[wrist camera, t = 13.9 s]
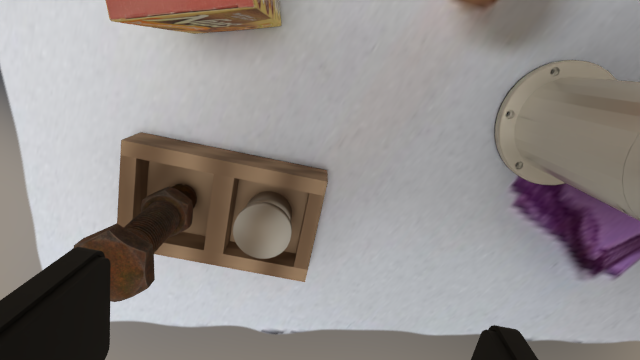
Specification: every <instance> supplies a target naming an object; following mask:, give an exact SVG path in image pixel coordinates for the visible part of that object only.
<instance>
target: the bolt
mask: <svg viewBox="0 0 640 360" xmlns="http://www.w3.org/2000/svg"><path fill="white" fill-rule="evenodd" d="M196 203H197V196H196V192H195V191H194V189H193V188H192V187H190V186H188V185H186V184H185V185H182V184H176V185H175V186H173V187H170V186H169V187H166V188H163V189H161V190H159V191H157V192H155V193H153V194H151V195H149V196H147V197H146V198H144V199H143V200H142V204H141V213H140V214H138V215H137V216H136V217H135V218H134V219H133V220H131V221H130V222H129V223H128V224H127V225H126V226H125V227H122V226H120V225H119V224H115V225H113V226H110V227H108V228H106V229H104V230H101V231H99V232H97V233H95V234H92V235H90V236H88V237H86V238H83V239H82V240H81V241H79V242H78V243H77V244H75V245H74V248H76V247H83V248H88V249H94V250H99V251H102V252H103V253H104V255H105V258H108V259H109V260H110V264H111V270H110V301H113V302H117V301H122V300H125V299H127V298H130V297H133V296H135V295H136V294H138V293H140V292H142V291H144V290H145V289H147V288H148V287H149V286H150V285H151V284H152V282H153V281H154V280H155V279H154V253H155V252H156V251H157V250H158V248H159V247H160V246H161V245H162V244H163V243H164V242H165V241H166V239H167V238H169V237H172V236H174V235H177V234H179V233H181V232H183V231H185V230H187V229H188V228H189V227H190V226H191V224H192V219H193V208H194V207H195V205H196Z"/></svg>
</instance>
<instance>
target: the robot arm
mask: <svg viewBox="0 0 640 360" xmlns="http://www.w3.org/2000/svg"><path fill="white" fill-rule="evenodd" d="M551 70H552V73H551V74H550V72H551ZM507 112H508V115H507V116H506V113H507ZM495 140H496V145H497V149H498V152H499V154H500V157H501V159H502V160H503V161H504V163H505V164H506V166H507V167H508V168H509V169H510V170H512V171H513V172H514V173H515V174H517V175H518V176H520V177H521V178H523V179H525V180H528V181H530V182H532V183H536V184H541V185H560V184H568V185H570V186H572V187H574V188H576V189H578V190H580V191H582V192H584V193H586V194H588V195H590V196H592V197H594V198H596V199H598V200H600V201H602V202H604V203H606V204H607V205H609V206H611V207H613V208H615V209H617V210H619V211H621V212H623V213H625V214H627V215H629V216H631V217H633V218H635V219H637V220H639V221H640V82H633V81H619V80H616V78H615V77H614V76H613V75H612V74H611V73H610V72H609V71H607V70H605V69H604V68H602V67H601V66H599V65H596V64H593V63H590V62H587V61H578V60H564V61H558V62H552V63H549V64H547V65H544V66H541V67H539V68H537V69H535V70H534V71H532V72H530V73H529V74H527V75H526V76H525V77H524V78H522V79H521V80H520V81H519V82H518V83H517V84H516V85H515V86H514V87H513V88H512V89H511V91H510V92H509V93H508V95H507V96H506V98H505V100H504V101H503V103H502V105H501V108H500V110H499V113H498V115H497V120H496V125H495ZM516 163H517V164H516ZM515 164H516V165H515ZM110 270H111V264H110V260H109V259H108V258H105V255H104V253H103V252H102V251H99V250H94V249H88V248H83V247H76V248H74V249H72V250H71V251H69V252H68V253H66V254H65V255H64V256H62V257H61V258H59V259H58V260H57V261H55V262H54V263H52V264H51V265H50V266H48V267H47V268H45V269H44V270H43V271H41V272H40V273H39V274H37V275H35V276H34V277H33V278H31V279H30V280H28V281H27V282H26V283H24V284H23V285H21V286H20V287H19V288H17V289H16V290H14V291H13V292H12V293H10V294H9V295H8V296H6V297H5V298H3V299H2V300H0V360H105V358H106V356H107V353H108V350H109V344H110V343H109V342H110V338H109V337H110ZM471 360H538V359H537V357H536V356H535V354H534V353H533V351H532V350H531V348H530V346H529V345H528V344H527V342H526V340H525V339H524V337H523V336H522V334H521V333H520V332H519V331H518V330H516V329H511V328H506V327H500V326H495V325H494V326H491V327H490V328H489V330H484V331H483V332H482V333H481V335H480V338H479V341H478V343H477V346H476V348H475V351H474V353H473V356H472V359H471Z"/></svg>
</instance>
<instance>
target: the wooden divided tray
mask: <svg viewBox="0 0 640 360" xmlns="http://www.w3.org/2000/svg"><path fill="white" fill-rule="evenodd" d="M327 182H328V179H327V170H323V169H318V168H313V167H308V166H303V165H298V164H293V163H289V162H284V161H279V160H274V159H269V158H264V157H259V156H254V155H249V154H244V153H240V152H235V151H230V150H225V149H220V148H215V147H210V146H205V145H200V144H195V143H191V142H186V141H181V140H176V139H171V138H166V137H161V136H156V135H151V134H146V133H142V132H140V133H138V134H135V135H133V136H130V137H128V138H125V139H123V140H121V158H120V178H119V198H118V218H117V224H119V225H120V226H122V227H125V226H126V225H127V224H128V223H129V222H130V221H131V220H133V219H134V218H135V217H136V216H137V215H138V214H140V213H141V204H142V200H143V199H144V198H146V197H147V196H149V195H151V194H153V193H155V192H157V191H159V190H161V189H163V188H166V187H169V186H170V187H173V186H175V185H176V184H182V185H185V184H186V185H188V186H190V187H192V188H193V189H194V191H195V192H196V196H197V203H196V205H195V207H194V208H193V219H192V224H191V226H190V227H189V228H188V229H187V230H185V231H183V232H181V233H179V234H177V235H174V236H172V237H169V238H167V239H166V241H165V242H164V243H163V244H162V245H161V246H160V247H159V248H158V250H157V251H156V252H155V253H154V254H158V255H163V256H168V257H174V258H179V259H184V260H190V261H195V262H200V263H206V264H211V265H216V266H222V267H227V268H232V269H238V270H243V271H248V272H254V273H259V274H265V275H270V276H275V277H281V278H286V279H291V280H297V281H302V282H305V279H306V275H307V270H308V266H309V262H310V257H311V253H312V248H313V244H314V240H315V235H316V231H317V226H318V222H319V217H320V213H321V209H322V204H323V200H324V195H325V191H326V187H327Z"/></svg>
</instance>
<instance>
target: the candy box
mask: <svg viewBox="0 0 640 360" xmlns="http://www.w3.org/2000/svg"><path fill="white" fill-rule="evenodd" d="M106 5H107V9H108V14H109V19H110V20H111V21H115V22H121V23H127V24H134V25H140V26H148V27H153V28H160V29H167V30H174V31H181V32H188V33H193V34H196V33H208V32H222V31H234V30H245V29H256V28H266V27H277V26H281V17H280V4H279V0H106Z"/></svg>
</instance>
